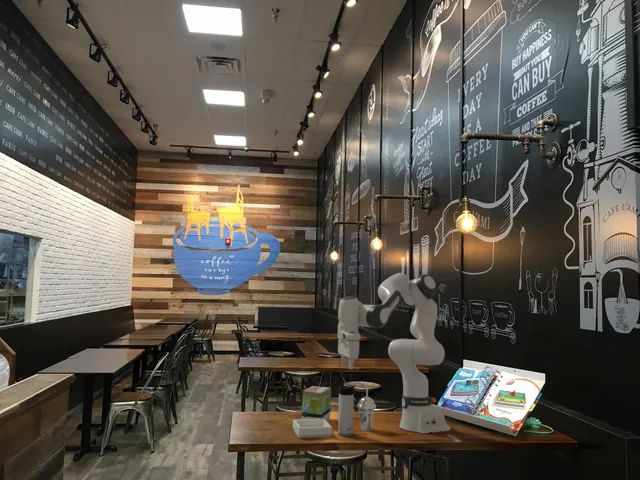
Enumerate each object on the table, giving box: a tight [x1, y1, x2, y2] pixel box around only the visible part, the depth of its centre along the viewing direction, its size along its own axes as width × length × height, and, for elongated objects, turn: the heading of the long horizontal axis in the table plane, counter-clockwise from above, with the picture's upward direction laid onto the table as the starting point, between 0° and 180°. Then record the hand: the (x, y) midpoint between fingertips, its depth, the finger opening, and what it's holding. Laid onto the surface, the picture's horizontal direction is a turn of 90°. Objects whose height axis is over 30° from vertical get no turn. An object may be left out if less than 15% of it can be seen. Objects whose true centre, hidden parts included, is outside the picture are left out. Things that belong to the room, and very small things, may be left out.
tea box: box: [300, 385, 332, 422], centre depth 236 cm, size 15×10×15 cm, turn 164°
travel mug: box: [337, 385, 355, 437], centre depth 215 cm, size 6×7×20 cm
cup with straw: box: [355, 381, 377, 431], centre depth 224 cm, size 8×9×20 cm
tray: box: [292, 418, 333, 439], centre depth 215 cm, size 14×14×4 cm
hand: (347, 367), depth 217 cm, fingers open, 8 cm apart
